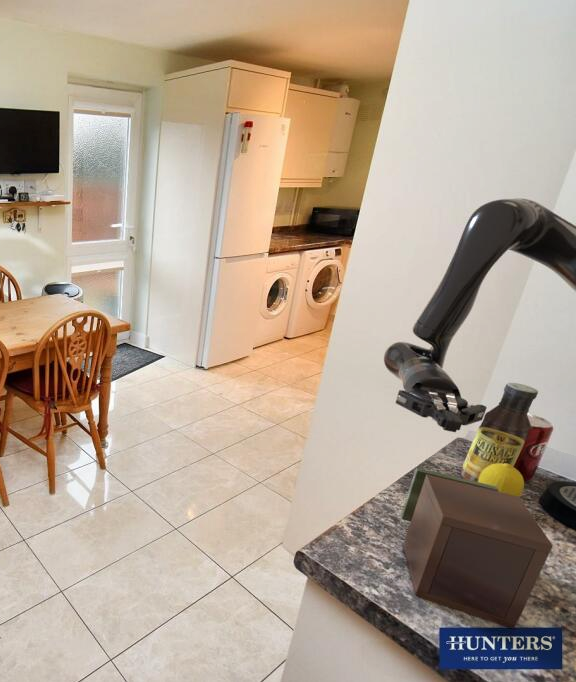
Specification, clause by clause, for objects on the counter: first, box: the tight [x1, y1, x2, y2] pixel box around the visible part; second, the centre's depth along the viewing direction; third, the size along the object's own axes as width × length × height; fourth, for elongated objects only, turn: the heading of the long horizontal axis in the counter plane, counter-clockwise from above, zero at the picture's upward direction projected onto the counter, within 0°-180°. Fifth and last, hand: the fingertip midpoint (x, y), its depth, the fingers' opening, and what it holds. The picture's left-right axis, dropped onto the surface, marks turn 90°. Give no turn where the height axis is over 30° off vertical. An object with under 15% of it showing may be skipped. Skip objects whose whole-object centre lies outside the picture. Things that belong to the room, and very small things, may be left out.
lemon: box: [478, 463, 525, 498], centre depth 77 cm, size 6×6×8 cm
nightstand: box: [402, 474, 554, 630], centre depth 59 cm, size 10×10×13 cm
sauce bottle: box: [460, 382, 539, 482], centre depth 81 cm, size 6×6×20 cm
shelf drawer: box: [400, 467, 499, 523], centre depth 65 cm, size 11×10×10 cm
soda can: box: [513, 412, 554, 484], centre depth 85 cm, size 7×7×12 cm
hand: (452, 426), depth 71 cm, fingers closed
